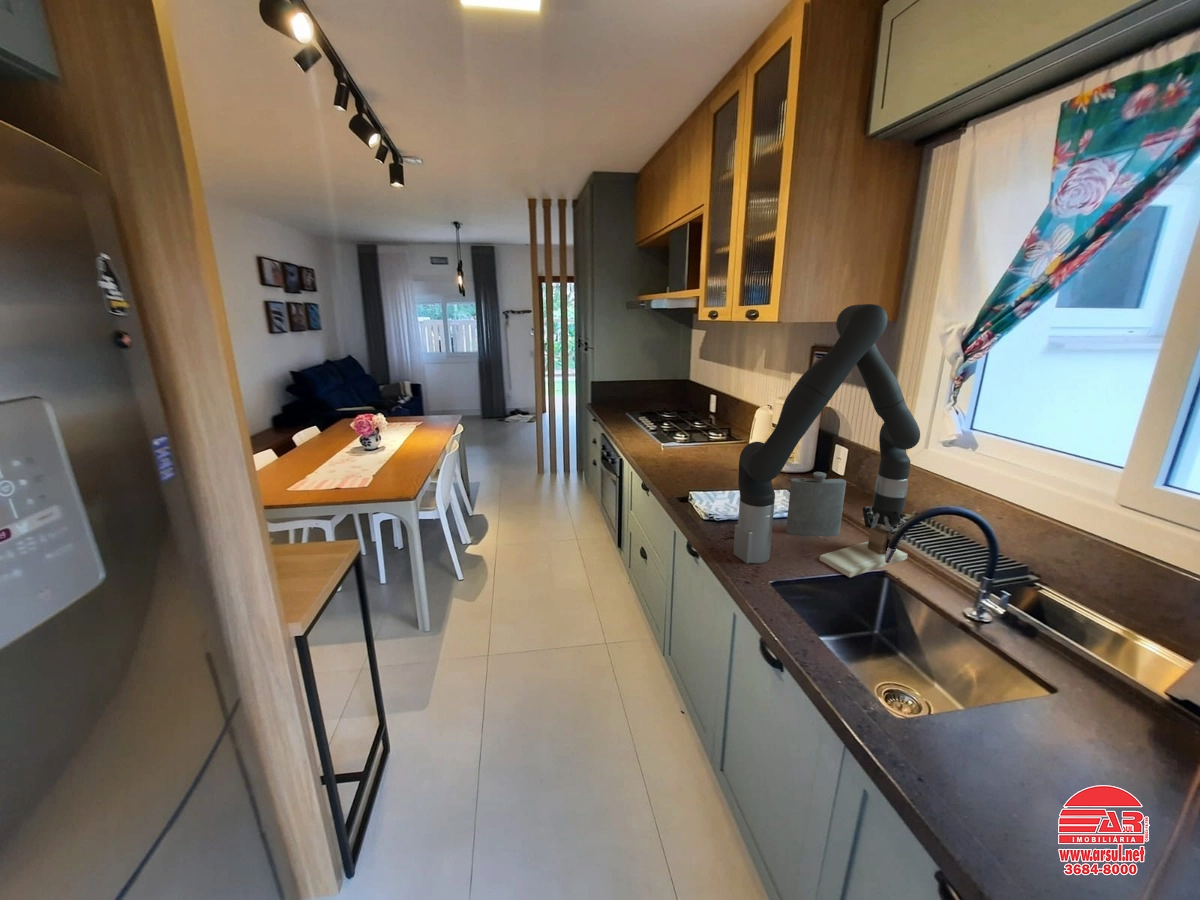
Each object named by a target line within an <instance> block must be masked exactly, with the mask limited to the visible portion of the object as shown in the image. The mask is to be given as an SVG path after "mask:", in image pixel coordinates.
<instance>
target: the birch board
mask: <svg viewBox="0 0 1200 900" xmlns="http://www.w3.org/2000/svg"><path fill="white" fill-rule="evenodd" d="M868 542H869V540H867V541H865V542H860V543H857V544H854V545H851V546H847V547H845V548H844V547H843V548H840V549H837V550H834V551H830V552H826V553H823V554H821V555H819V561H821V562H822V563H824V564H826V565H828V566H829V567H831V568H832V569H834V570H836V571H838V572H839V573H841V574H843V575H844V576H846V577H848V578H854V577H856V576H859V575H863V574H865V573H868V572H871V571H875V570H877V569H881V568H883V567H886V565H887V566H890V565H892V564H895V563H898V562H902V561H905V560H908V553H906V552H905V551H901V550H899V549H897V548H896V551H895V552H894V554H893V556H892V558H891V560H890V562H889V564H887V563H886V562H885V554H886V553H883V554H879V553H877V552H875V551H873V550H871V549H869V548H868Z"/></svg>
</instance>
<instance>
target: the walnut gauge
mask: <svg viewBox="0 0 1200 900" xmlns="http://www.w3.org/2000/svg"><path fill="white" fill-rule="evenodd" d="M891 528H892V527H891ZM887 539H888V533H887V532H886V527H885V526H884V525H882V526H879V527H877V528H872V529H869V537H868V541H869V542H868V548H869V549H871V550H873V551H875V552H877V553H879V554H883V553H886V543H887Z"/></svg>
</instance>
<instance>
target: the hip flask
mask: <svg viewBox="0 0 1200 900" xmlns="http://www.w3.org/2000/svg"><path fill="white" fill-rule="evenodd" d="M812 476H813V477H810V478H809V477H808V478H806V477H805V478H803V477H802V478H794V477H793V478H791V479H790V484H789V485H790V486H789V496H788V507H787V509H788V510H787V517H786V528H785V529H786V530H785V532H786V533H787V534H788V535H797V536H807V537H808V536H809V537H810V536H811V537H830V536H833V537H834V536H840V533H841V524H842V518H843V517H842V516H843V508H844V501H845V494H846V486H847V481H846V479H844V478H830V479H826V478H827V473H825V472H822V471H815V472H813V475H812Z"/></svg>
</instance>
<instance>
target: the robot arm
mask: <svg viewBox="0 0 1200 900" xmlns="http://www.w3.org/2000/svg"><path fill="white" fill-rule="evenodd" d="M887 325H888V314H887V312H886V310H885V309H884V307H883V306H880V305H878V304H873V303H865V304H864V303H863V304H853V305H850V306H847V307H845V308H843V309H842V311H840V313H839V314H838V316H837V319H836V323H835V327H836V331H837V333H838V335H839V337H838V339H837V340H836V342H835V344H834V345H832V347H831V348H830V349H829V351H827V353H826V354H824V355H823V357H822V358H820V359H819V360H818V361H816V362H815V363H814V364H813V365H812V366H810V367H809V368H808V369H807V370H806V371H805V372H804V373H803V374H802V375H801V376H800V378H799V379H798V380H797V382H796V383H795V385H794V386H793V387H792V389H791V390H790V391H789V392H788V394H787V396H786V398H785V400H784V402H783V405H782V408H781V412H780V415H779V418H778V421H777V423H776V425H775V428H774V430H773V431H772V433H771V434H770V435H769V436H768V437H767V438H768V439H766V440H765V442H762V441H752V442H750V443H748V444H746V445H745V446H744V447H743V448H742V450H741V452H740V455H739V459H738V479H737V480H738V491H739V502H738V503H739V505H738V520H737V524H735V525H734V538H733V540H734V541H733V551H732V552H733V555H734V556H736V557H737V558H739V560H741V561H743V562H744V563H745V564H762V563H763V564H764V563H766V562H768V561H769V560H770V557H771V546H772V538H773V536H772V534H773V524H774V523H773V522H774V510H775V500H776V494H775V490H774V487H773V486H774V485H773V482H772V481H773V480H774V479H776V478H777V477H778V476H779V474H780V473H782V471H783V469H784V467H785V465H786V463H787V462H788V461H789V459H790V456H791V455H792V454H793V452H794V450H795V449H796V446H797V445H798V444H799V442H800V441H801V440H802V438H803V437H804V436H805V434H806V432H808V430H809V429H810V427H811V426H812V425H813V423H814V422H815V420H816V419H817V418H818V416H819V415H820V414H821V413H822V411H823V410H824V409H825V408H826V406H827V405H828V403H829V402H830V401H831V399H832V398H833V397H834V395H835V393H836V392H837V391H838V389H839V388H840V387H841V385H842V384H843V383H844V381H845V380H846V379H847V377H848V375H850V373H851V371H852V370H853V369H854V367H857V369H858V370H859V373H860V375H861V378H862V380H863V381H864V385H865V388H866V390H867V392H868V395H869V397H870V401H871V403H872V405H873V408H874V411H875V413H876V414H877V415H878V416H879V418H881V419H882V421H883V422H884V423H882V425H881V428H880V430H879V437H878V438H879V439H878V440H879V441H878V442H879V453H880V454H879V455H880V461H879V466H878V467H879V468H878V474H877V478H876V481H875V485H874V486H875V487H874V493H873V500H872V505H873V506H872V505H868V506H863V507H862V515H863V520H864V521H863V522H864V527H865V528H866V529H867V528H868V529H869V530H870V529H872V528H877V527H879V526H883V525H884V526H885V527H886V532H887V533H888V539H887V543H886V551H887V548H888V544H889V541H890V539H891V537H892V535H893V534H894V533H895V532H896V531H897V530H898V531H899V529H900V528H901V527H902V526H903V525H904V523H905V522H907V520H905V519H904V516H903V512H904V509H905V506H906V499H907V494H908V489H909V475H910V468H911V458H910V457H909V456H908V454H907V450H910V449H912V448H915V447H916V446H917V445H918V444H919V442H920V439H921V430H920V427H919V425H918V423H917V420H916V419H915V418H914V415H913V414H912V412H911V410H910V409H909V408H908V405H907V404H906V402H905V401H906V400H905V398H904V395H903V392H902V389H901V387H900V383H899V380H898V379H897V377H896V376H895V373H893V372H894V371H892V370H891V368H890V366H889V365H888V364H887V362H886V361H885V360H884V358H883V356H882V354H881V353H880V351H879V349H878V346H877V344H876V343H877V341H878V340H879V339H880V337H881V336H882V335H883V334H884V332H885V330H886V328H887ZM891 527H892V528H891ZM909 531H910V530H909ZM909 531H908V532H907V533H906V534H905V535H904V537H903V538H902V539H901V540H900V541H902V540H905V538H906V537H907V535H908V534H909Z"/></svg>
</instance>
